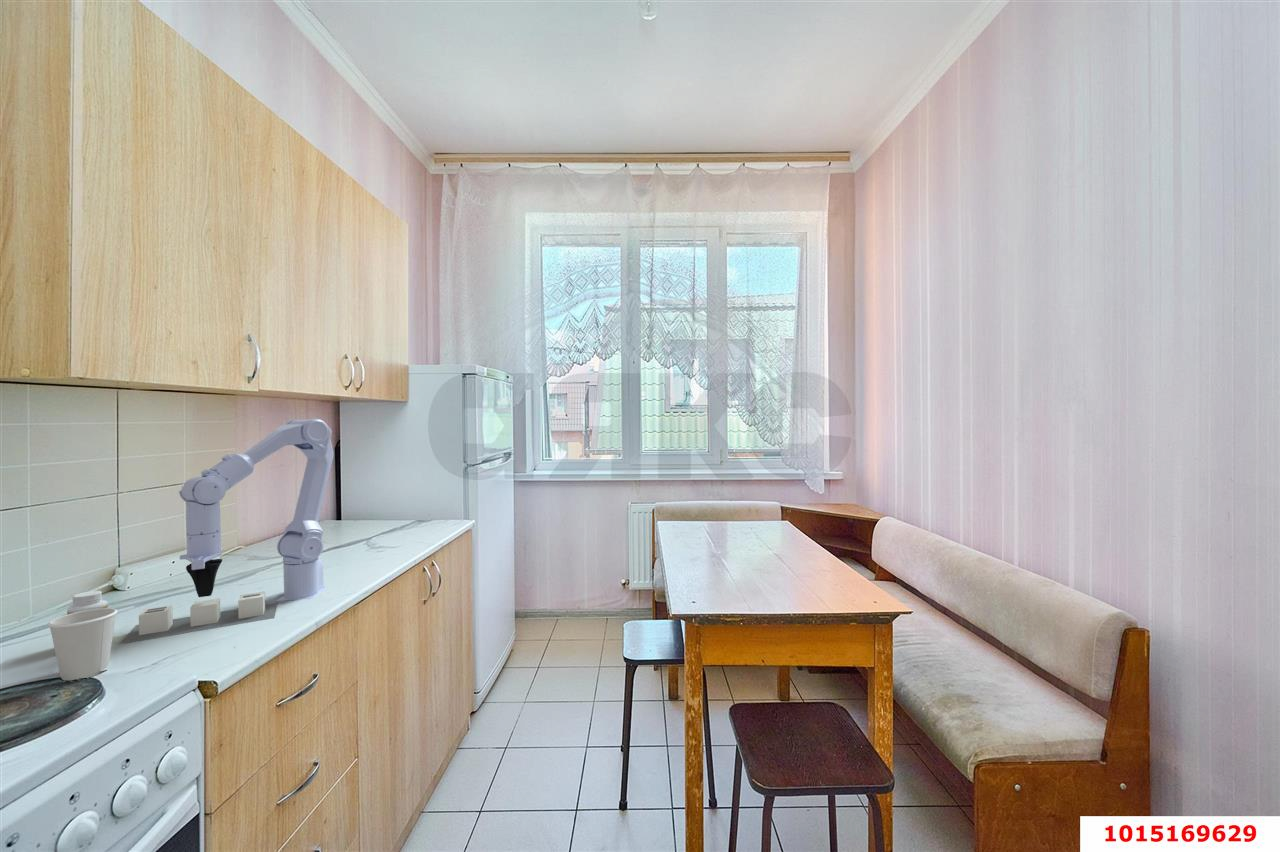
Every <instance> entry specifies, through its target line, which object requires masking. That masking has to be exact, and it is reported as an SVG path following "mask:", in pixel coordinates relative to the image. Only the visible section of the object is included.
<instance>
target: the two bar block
mask: <svg viewBox="0 0 1280 852" xmlns="http://www.w3.org/2000/svg"><path fill="white" fill-rule="evenodd" d="M173 619H174V614H173V605H172V604H171V605H166V606H158V607H152V608H146V609H145V608H144V609H143V610H142V612H140V614H139V615H138V625H139V635H144V634H150V633H156V632H162V631H168V630H169V628H170V627H171V626H172V624H173Z"/></svg>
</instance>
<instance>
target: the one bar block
mask: <svg viewBox="0 0 1280 852" xmlns="http://www.w3.org/2000/svg"><path fill="white" fill-rule="evenodd" d="M265 594H266V593H265V591H260V592H254V593H246V594H241V595H239V598H238V599H237V600H238V601H237V605H238V608H237V609H238V613H239V619H241V618H247V617H253V616H259V615H263V614H264V611H265V605H266V595H265Z"/></svg>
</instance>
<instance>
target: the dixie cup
mask: <svg viewBox="0 0 1280 852" xmlns="http://www.w3.org/2000/svg"><path fill="white" fill-rule="evenodd" d="M116 614H118V610H117V609H116V608H112V607H108V608H100V609H92V610H85V611H80V612H75V613H71V614H67V613H66V614H65V615H61V616H57V617H55V618H53V619H52V620H50V621H49V622H48V623H47V627H49V630H50V633H51V638H52V642H53V643H52V644H53V647H54V651H55V652H54V653H55V656H56V658H55V659H56V662H57V667H58V671H59V676H60V680H61V679H62V680H74V679H79V678H87V679H90V678H93V677H96V676H99V675H102V674H103V673H105V672H107V671H108V669H106V668H108V666H109V665H110V658H111V651H112V650H111V649H112V644H113V643H112V642H113V637H114V636H113V635H114V627H115V621H116ZM89 677H90V678H89ZM62 680H61V681H62Z"/></svg>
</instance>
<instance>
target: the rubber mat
mask: <svg viewBox="0 0 1280 852" xmlns="http://www.w3.org/2000/svg"><path fill="white" fill-rule="evenodd" d="M278 604H279V603H278V602H273V603H267V604H266V603H265V611H264V614H263V615H259V616H253V617H247V618H241V619H239V613H238V608H235V609H229V610H223V611H220V613H221V616H220V618H219V620H218V622H217V623H211V624H205V625H199V626H193V627H191V617H190V616H183V617H179V618H173V624H172V626H171V627H170V628H169V630H168V631H162V632H156V633H150V634H144V635H139V624H136V625H135V626H134V627H133V628H132V629H131V630H130V631H129V632H128V634H126V636H124V637H123V639H122V640H121V641H120V642H119V643H118V644H117V645H123V644H129V643H136V642H141V641H148V640H153V639H159V638H165V637H171V636H176V635H182V634H183V635H184V634H189V633H195V632H200V631H206V630H212V629H213V630H214V629H218V628H223V627H230V626H236V625H241V624H248V623H254V622H260V621H264V620H272V619H275V616H276V612H277V609H278Z"/></svg>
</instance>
